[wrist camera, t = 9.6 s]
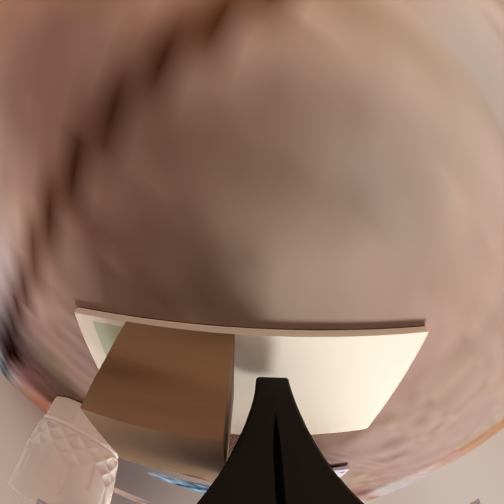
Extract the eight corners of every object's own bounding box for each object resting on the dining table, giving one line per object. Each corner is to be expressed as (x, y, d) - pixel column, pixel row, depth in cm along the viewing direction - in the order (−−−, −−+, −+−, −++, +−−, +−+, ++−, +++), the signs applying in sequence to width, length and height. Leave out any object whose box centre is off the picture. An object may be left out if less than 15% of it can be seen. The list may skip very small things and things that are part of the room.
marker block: (233, 398, 12) (226, 479, 8) (146, 386, 12) (122, 459, 8) (234, 334, 10) (222, 440, 6) (126, 321, 10) (80, 407, 6)
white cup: (37, 394, 16) (-2, 475, 7) (71, 384, 14) (21, 499, 5) (100, 442, 19) (75, 519, 10) (149, 441, 17) (125, 543, 8)
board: (365, 424, 14) (366, 428, 14) (125, 411, 14) (123, 416, 14) (425, 326, 10) (428, 331, 10) (78, 307, 11) (74, 312, 10)
